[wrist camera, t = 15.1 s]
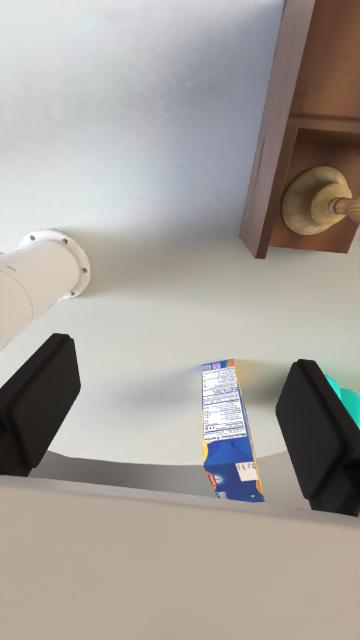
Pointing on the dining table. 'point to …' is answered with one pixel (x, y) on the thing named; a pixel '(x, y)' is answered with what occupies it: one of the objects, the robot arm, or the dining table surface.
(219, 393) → the beverage box
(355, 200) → the hand bell
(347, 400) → the donuts
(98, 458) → the dining table surface
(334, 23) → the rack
